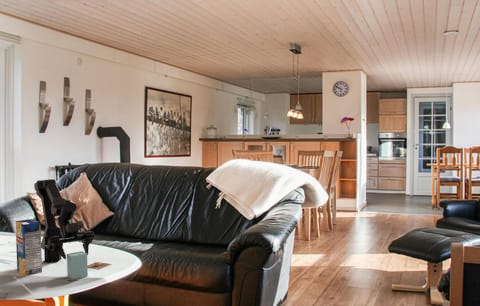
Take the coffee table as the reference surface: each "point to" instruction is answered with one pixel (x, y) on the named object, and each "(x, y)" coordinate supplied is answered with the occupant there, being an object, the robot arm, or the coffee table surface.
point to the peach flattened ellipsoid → (97, 264)
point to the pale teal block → (77, 265)
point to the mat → (72, 280)
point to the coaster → (98, 266)
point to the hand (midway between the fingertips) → (76, 256)
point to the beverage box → (28, 246)
